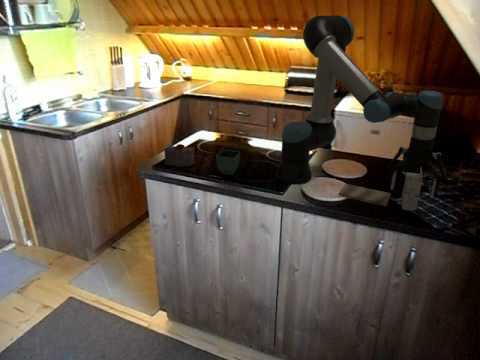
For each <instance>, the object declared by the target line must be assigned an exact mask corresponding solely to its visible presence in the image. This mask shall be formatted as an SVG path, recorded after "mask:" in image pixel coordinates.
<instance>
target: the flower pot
mask: <svg viewBox="0 0 480 360" xmlns="http://www.w3.org/2000/svg"><path fill="white" fill-rule="evenodd" d="M240 158H241V151H238V150H227V149H221V150H220V151H219V152H218V153H217V154H216V156H215V160H216V165H217V169H218V171H219V172H220V173H221V175H226V176H233V175H234V174H235V172H236V171H237V170H238V167H239V164H240Z"/></svg>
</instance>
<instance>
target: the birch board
mask: <svg viewBox="0 0 480 360" xmlns="http://www.w3.org/2000/svg"><path fill="white" fill-rule="evenodd" d="M338 195H342V196H345V197H344V198H346V197H347V199H352V200H356V201H360V202H365V203H367V204H368V203H369V204H373V205H378V206H382V207H387V206H388V204H389V201H390V198H391V196H392V193H391V192H385V191H382V190H381V191H380V190H378V189H372V188H367V187H362V186H358V185H353V184H349V183H345V184H344V185H343V186H342V188H341V189H340V191H339V192H338ZM342 196H341V197H342Z"/></svg>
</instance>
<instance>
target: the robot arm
mask: <svg viewBox="0 0 480 360" xmlns="http://www.w3.org/2000/svg"><path fill="white" fill-rule="evenodd" d="M354 36H355V26H354V24H353V22H352V20H350V18H348V17H347V16H344V15H338V14H337V15H336V14H332V15H316V16H314V17H312V18H310V19H309V20H308V21H307V22H306V23H305V25H304V28H303V30H302V39H303V42H304V46H305V47H306V48H307V50H308V51H309V52H310V54H311V55H312V56H313V57H314V58H316V59H317V64H316V65H317V66H316V71H315V72H316V73H315V78H314V85H313V93H312V100H311V107H310V112H309V113H308V114H307V115H306V117H305V121H301V120H299V121H297V122H296V121H292V122H289V123H287V124H286V125H285V126H284V127H283V129H282V130H283V131H282V135H281V138H282V140H281V155H280V156H281V157H280V162H279V165H278V166H277V169H276V172H275V173H276V174H275V176H276V177H275V178H277V180H279V181H280V182H282V183H284V184H285V183H286V184H290V185H302V184H303V185H304V184H306V182H307V183H308V181H309V182H310V181H311V180H312V170H311V166H310V162H309V161H310V152H312V151H314V150H318V149H321V148H326V146H329V145H330V144H332V143H333V142H334V141H335V139H336V135H337V127H336V126H335V123H334V118H333V117H332V109H333V102H334V97H335V91H336V86H337V80H338V81H339V82H340V83H341V84H342V85H343V86H344V88H346V90H347V91H348V92H349V93H350V94H351V95H352V96H353V97H354V98H355V99H356V101H357V102H358V103H359V104H360V105H361V106H362V108H363V110H362V112H363V116H364V118H365V120H366V121H367V122H370V123H373V124H377V123H383V122H385V121H387V120H391V119H395V118H397V117H399V116H401V117H405V118H409V119H410V118H411V119H413V124H412V128H411V129H412V130H411V136H410V138H409V139H410V140H409V146H408V147H409V148H408V149H406V147H403V145H401V146H400V147H399V148H398V151H397V153H396V154H395V155H394V156H393V158H392V159H391V160H390V162H389V163H388V164H387V166H386V167H385V170H386V171H388V172H389V179H388V180H389V181H391V185H390V190H391V191H393V190H394V188H395V182H396V177H397V170H399V169H401V168H402V166H403V165H405V164H406V163H408V162H409V161H412V162H415V163H416V162H418V164H425V166H427V168H428V169H429V171H430V173H431V174H432V176H433V177H434V178H433V179H434V180H433V184H432V188H431V191H430V192H431V193H430V198H432V199H433V197H434V193H435V190H438V189H439V188H440V183H441V181H445V182H446V181H447V179H448V176H447V173H446V169H445V167H444V164H443V161H442V152H441V151H438V152H433V147H434V142H435V139H434V138H435V137H436V134H437V129H438V125H439V120H440V115H441V111H442V108H443V100H444V96H443V93H441V92H439V91H436V90H423V91H419V93H418V95H413V94H408V93H401V92H398V91H396V92H393V91H388V92H386V93H385V94H383V92H382V91H381V90H380V89H379V88H378V87H377V86H376V85H375V83H373V82H372V80H371V79H370V78H369V77H368V76H367V75H366V74H365V72H363V70H361V68H360V67H359V66H358V65H357V64H356V63H355V62H354V61H353V59H352V58H351V57H350V56H349V54H347V53H346V51H347V46H349V45H350V44H351V43H352V41H353V39H354V38H355V37H354ZM405 152H407V154H408V157H406V158H405V159H404V160H403V159H402V160H401V161H400V162H399V163H397V164H396V165H394V164H395V163H396V162H397V160H398V159H399V158H400V157H401V155H403V154H404V153H405ZM432 157H433V158H434V160H436V163H437V167H438V169H439V172H440V174H439V172H438V171H437V169H436V167H435V166H434V164H433V163H432V162H431V158H432ZM393 165H394V166H393Z"/></svg>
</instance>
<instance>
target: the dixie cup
mask: <svg viewBox="0 0 480 360" xmlns="http://www.w3.org/2000/svg"><path fill="white" fill-rule="evenodd" d="M405 148H406V149H408V148H409V146H406V147H405ZM406 157H408V154H407V152H405V153H404V154H402V161H403V160H404V159H405V158H406ZM418 164H419V163H418V162H416V163H415V162H412V161H409V162H408V163H406V164H405V165H403V166H402V167H401V171H402V175H405V176H406V173H407V172H408V173H416V170H417V167H418Z"/></svg>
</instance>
